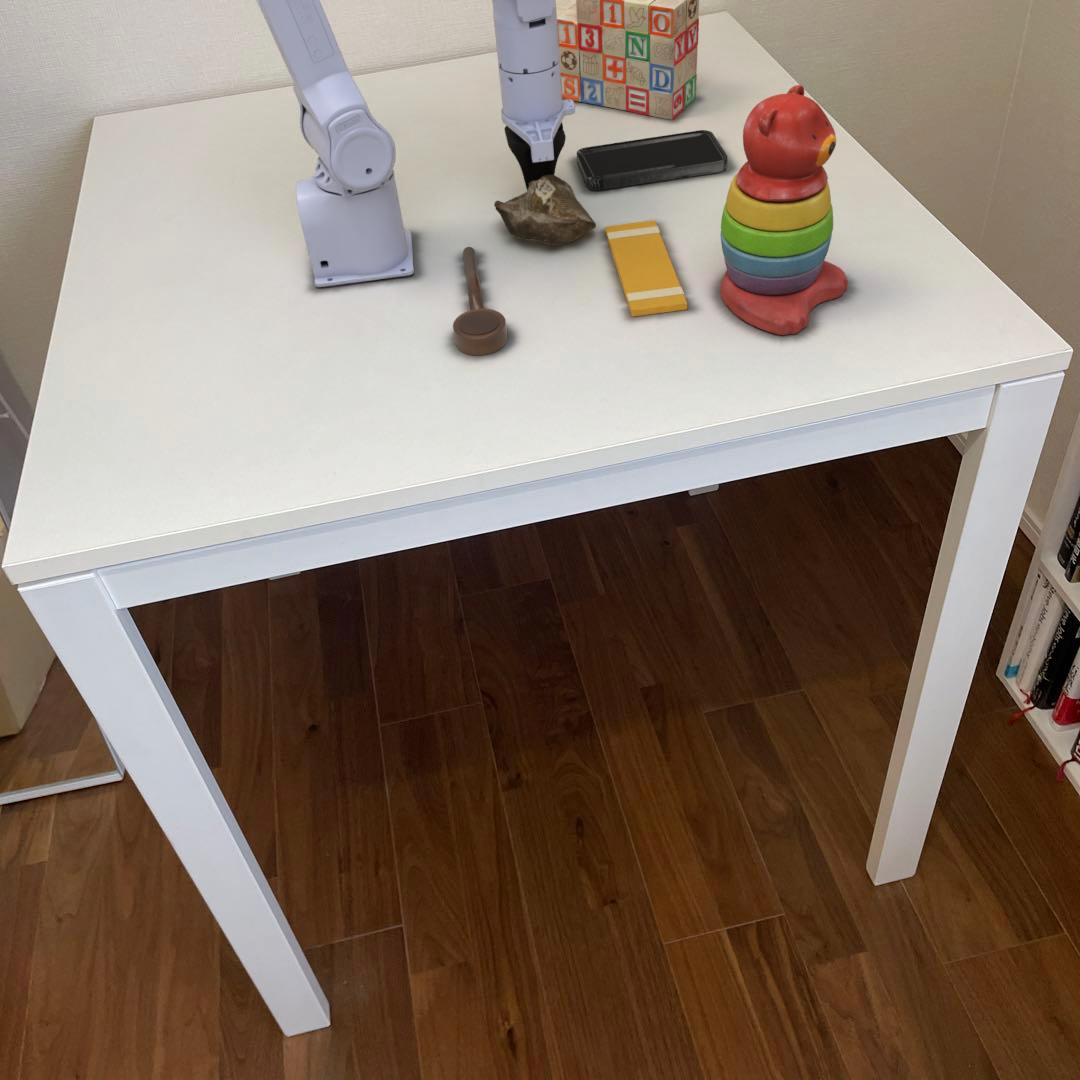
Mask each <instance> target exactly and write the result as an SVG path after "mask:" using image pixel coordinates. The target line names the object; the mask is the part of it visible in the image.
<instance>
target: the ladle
mask: <svg viewBox="0 0 1080 1080" xmlns="http://www.w3.org/2000/svg"><path fill="white" fill-rule="evenodd" d="M462 257H463V265H464V273H465V279H466V287H467V293H468V301H469V309H470V310H467V311H464V312H463V313H461V314H459V315H458V316H457V317H456V318H455V320H454V321H453V323H452V330H453V336H454V343H455V346H456V348H457V349H458V350H459V351H460V352H461V353H464V354H465V355H468V356H469V355H470V356H476V357H477V356H479V357H480V356H487V355H491V354H494V353H496V352H498V351H500V350H501V349H503V347H504V346H505V345H506V344H507V342H508V331H507V322H506V321H507V320H506V318H505V316H504V315H503V314H502V313H501V312H500V311H497V310H496V309H492V308H485V307H484V300H483V293H482V287H481V281H480V275H479V274H480V273H479V269H478V268H479V267H478V260H477V254H476V249H475V248H474V247H472V246H466V247H464V249H463V251H462Z"/></svg>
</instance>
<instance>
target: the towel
mask: <svg viewBox="0 0 1080 1080" xmlns="http://www.w3.org/2000/svg"><path fill="white" fill-rule="evenodd" d="M604 234H605V237H606V240H607V244H608V247H609V250H610V252H611V253H610V254H611V256H612V259H613V262H614V266H615V268H616V272H617V274H618V278H619V281H620V284H621V287H622V290H623V293H624V297H625V300H626V302H627V306H628V309H629V312H630V315H631V318H632V317H640V316H648V315H654V314H655V315H657V314H663V313H671V312H678V311H685V310H688V302H687V299H686V295H685V292H684V290H683V289H684V288H683V287H682V286H681V283H680V281H679V278H678V276H677V272H676V270H675V268H674V265H673V262H672V260H671V257H670V255H669V253H668V250H667V248H666V245H665V242H664V240H663V238H662V237H663V236H662V235H661V231H660V228H659V226H658V224H657V222H656V220H655V219H653V220H647V221H646V220H645V221H638V222H630V223H623V224H622V223H621V224H615V225H607V226H604Z"/></svg>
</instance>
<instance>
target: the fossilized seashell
mask: <svg viewBox="0 0 1080 1080" xmlns="http://www.w3.org/2000/svg"><path fill="white" fill-rule="evenodd" d="M493 206H494V207H495V211H497V212H498V214H499V215H500V218H501V220H502V222H503V224H504V226H505V228H506V229H507V230H508V232H509V233H510V234H511V235H512V236H514V237H515V238H519V239H521V240H525V241H527V240H528V241H530V240H532V241H536V242H537V243H540V244H546V245H549V246H555V245H565V244H568V243H571V242H574V241H577V240H578V239H579V238H582V237H583V236H584V235H586V234H587V233H588V232H591V231H592V230H594V229H596V227H597V224H596V222H595V221H594V219H593V218H592V217H591V215H590V214H589V212H588V211H587V209H586V208H585V207H584V206H583V205H582V204H581V202H580V201H579V200H578V199H577V197H576V195H575V193H574V190H573V188H572V186H571V185H570V184H569V183H567V182H566V181H565V180H563V179H562V178H560V177H559V176H557V175H545V176H542V177H541V178H540V179H539V180H537V181H531V182H530V183H529V188H528V191H527V190H526V191H525V192H524V193H522V194H520V195H518V196H515V197H513V198H511V199H508V200H507V201H504V202H503V201H500V200H495V202H494V205H493Z"/></svg>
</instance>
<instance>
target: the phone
mask: <svg viewBox="0 0 1080 1080" xmlns="http://www.w3.org/2000/svg"><path fill="white" fill-rule="evenodd" d="M576 164H577V166H578V169H579V172H580V174H581V176H582V178H583V181H584V184H585V186H586V188H587V189H589V190H592V191H603V190H610V189H611V190H612V189H617V188H623V187H630V186H636V185H644V184H650V183H657V182H662V181H669V180H675V179H682V178H683V179H684V178H689V177H696V176H702V175H703V176H704V175H709V174H715V173H716V174H717V173H721V172H723V171H726V170H727V168H728V155H727V153H726V151H725V150H724V148H723V147H722V145H721V144H720V142H719V141H718V139H717V137H716V136H715V135H714V133H713V132H712V131H710V130H706V129H701V130H700V129H699V130H694V131H693V130H692V131H685V132H680V133H679V132H678V133H673V134H666V135H659V136H653V137H646V138H640V139H633V140H626V141H625V140H624V141H619V142H612V143H606V144H599V145H593V146H585V147H581V148H579V149H577V151H576Z"/></svg>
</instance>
